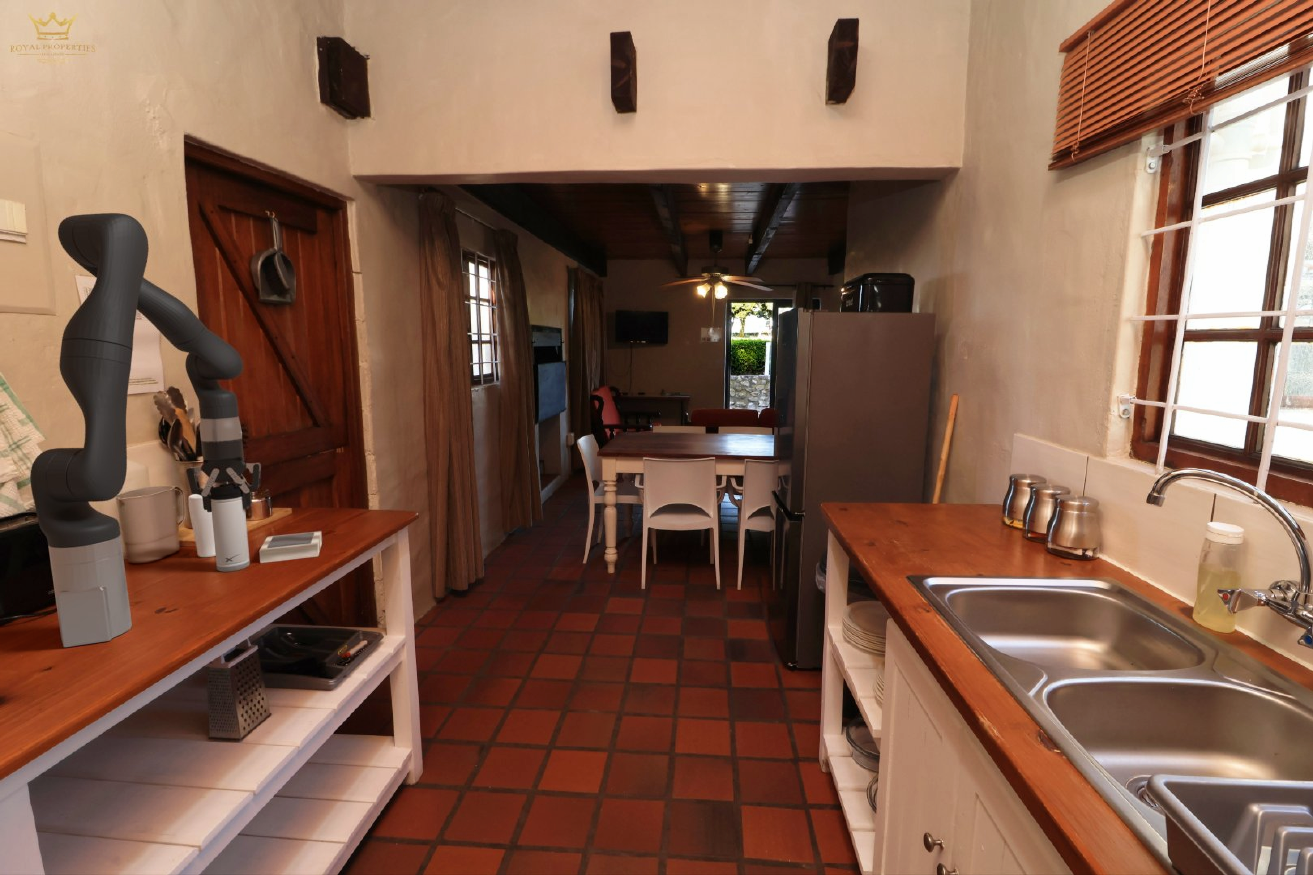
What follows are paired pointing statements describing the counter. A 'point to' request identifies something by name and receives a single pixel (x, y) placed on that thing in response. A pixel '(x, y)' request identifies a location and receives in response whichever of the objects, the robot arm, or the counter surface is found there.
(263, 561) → the base
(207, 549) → the white tall cylinder
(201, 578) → the counter surface
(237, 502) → the travel mug
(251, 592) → the counter surface
